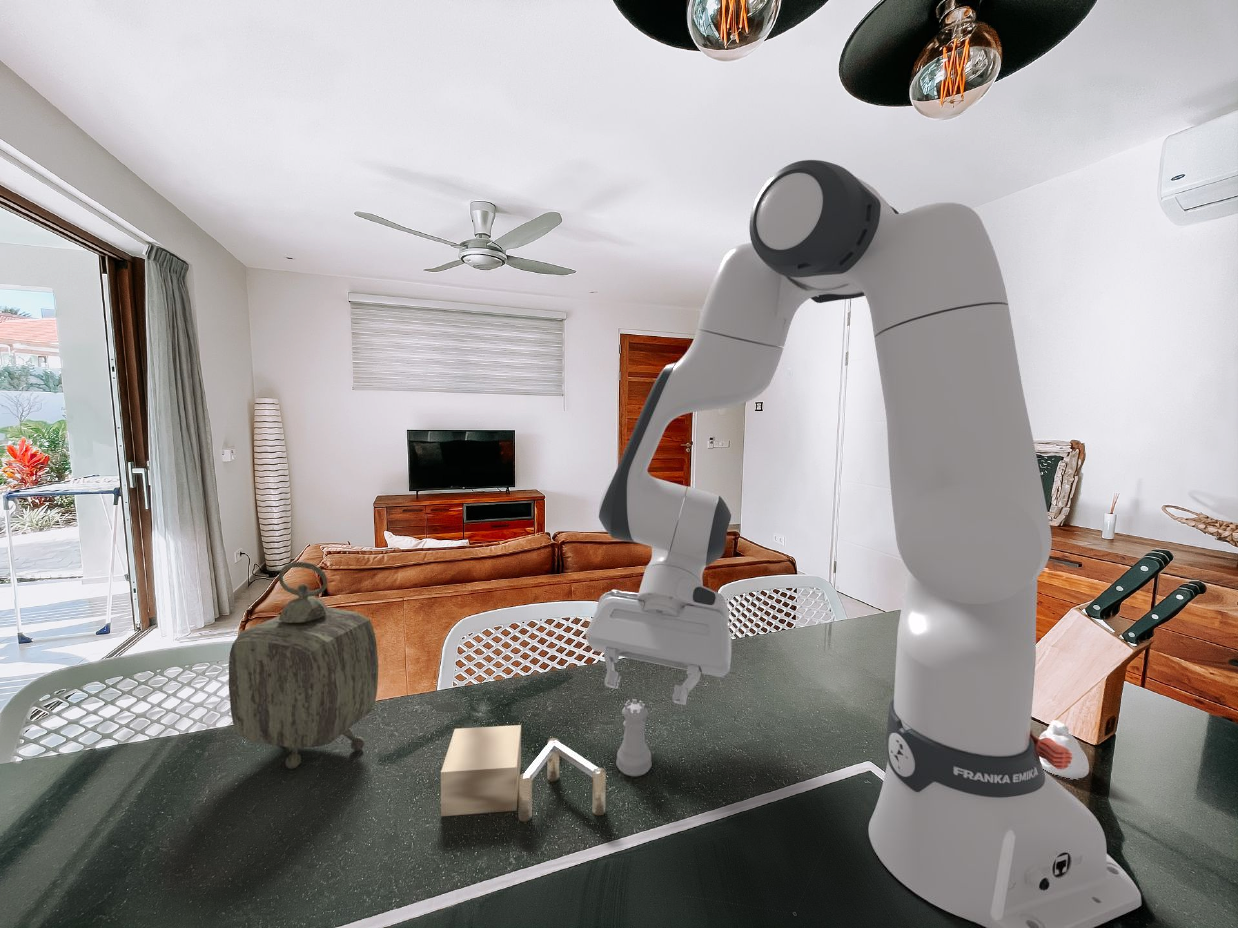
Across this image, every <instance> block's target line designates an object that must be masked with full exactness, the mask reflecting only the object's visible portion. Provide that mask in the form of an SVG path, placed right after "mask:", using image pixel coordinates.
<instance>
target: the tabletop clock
mask: <svg viewBox="0 0 1238 928" xmlns="http://www.w3.org/2000/svg"><path fill="white" fill-rule="evenodd" d="M293 568H303V569H308V570H312V571H313V572H315V573H317V574H318V575H319V577H321V579H322V583H323V584H322V586H321V587H320V588H318V589H315V590H309V585H308V584H306V583H301V584H299V585H298V587H297V588H293V587H291V586H289V585H288V584H286V582H285V581H284V575H285V573H286V572H287V571H288V570H290V569H293ZM278 582H279V584H280V586H281V587H282V588H283V590H284V591H286V592H288V593H290V594H292V595H294V596H298V597H296V598H294V599H291V600H290V601H288V602H287V603H286V604H285V606H284V607H283V609H282V611H281V612H280V614H279V615H278V616H275V617H273V618H270V619H268V620H266V621H263V622H260V623H259V624H255V625H254V626H251V627H249V628H247V629H244V630H241V632H240V633H239V634H238V636H237V637H236V638H235V640H234V642H233V643H232V645H231V648H230V651H229V656H228V657H229V658H228V659H229V660H228V692H229V693H228V694H229V707H230V713H231V720H232V725H233V728H234V730H235V732H236V733H237V735H239V736H241V737H242V738H245V739H246V740H250V741H253V742H257V743H263V744H265V745H270V746H274V747H275V746H276V747H283V748H292V750H291V754H289V755H288V756H287V758H286V759H285V761H284V762H285V764H284V765H285V766H286V768H287V769H289V770H290V769H291V770H292V769H296V768H297V767H298V766H299V765H300V764H301V761H302V757H301V755H300V754H299V753H298V751H299V749H307V748H315V747H322V746H326V745H329V744H331V743H332V742H334V741H335V740H336V739H338V738H339V737H341V735H343V736H344V737H346V738H347V739H348V740H350V748H351V750H353V751H355V752H357V751H360V750H362V749H363V748H364V746H365V741H366V740H365V738H363V737H362V736H356V737H355V735H354V734H353V732H352V731H351V730H350V728H351V727H353V726H354V725H355V724H357V723H358V722H359V721H361V720H362V719H363V718H364V717H366V716H367V715H368V714H370V713H371V712H372V711H373V708H374V707H375V703H376V699H377V695H378V685H379V658H378V657H379V656H378V647H377V639H376V634H375V629H374V627H373V623H372V622H371V619H369V617H367V616H365V615H363V614H361V613H358V612H355V611H351V610H347V609H341V608H336V607H331V606H326V603H325V602H324V601H323V600H322V599H320V598H318V597H315V596H317V595H320V594H322V593H323V592H324V591H325V590H326V588H327V585H328V578H327V576H326V573H325V572H324V571H323V569H322V568H321V567H320V566H317V565H316V564H314V563H311V562H306V561H294V562H293V561H292V562H290V563H289V562H288V563H287V564H285V565H284V566H283V567H282V568H281V569H280V571H279V574H278Z"/></svg>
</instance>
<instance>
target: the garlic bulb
mask: <svg viewBox="0 0 1238 928" xmlns="http://www.w3.org/2000/svg"><path fill="white" fill-rule="evenodd" d="M1038 738H1039V739H1042V738H1050V739H1052V740H1053V741H1054V742H1055V743H1056V744H1058V745H1061V746H1063V747H1065V748H1066V749H1068V750H1069V752H1070V753H1071V754H1072V756H1071V757H1072V760H1070V761H1071V764H1068V767H1067V768H1065V769H1057V768H1055V767H1054V766H1053V765H1051V764H1050V763H1049V762H1048V761H1047V760H1046V759H1044V758H1041V757H1040V756H1039V758H1040V761H1041V764H1042V767H1043V769H1044V771H1045V770H1046V771H1045V772H1047V771H1048V772H1050V773H1052V774H1051V775H1053V774H1055V775H1059V776H1062V777H1066V778H1070V779H1069V780H1073V779H1076V780H1079V779H1078V778H1082V779H1083V778H1085V777H1086V776H1087V775H1088V774H1089V772H1090V765H1089V760H1088V757H1087V755H1086V753H1085V752H1084V750H1083V749H1082V748H1081V745H1080V743H1079V741H1078V740H1077V739H1076V738H1075V737H1074V736H1073V734H1070V733H1069V727H1068V726H1067V725H1066V724H1064V722H1062V721H1060V720H1057V719H1056V720H1055V719H1054V720H1052V721H1051V722H1050V724H1049V725H1048V727H1047V730H1044V731H1043V732H1041V734H1040V735H1039V737H1038ZM1048 772H1047V773H1048ZM1050 773H1049V774H1050ZM1055 775H1054V776H1055ZM1059 776H1058V777H1059ZM1062 777H1061V778H1062ZM1066 778H1065V779H1066Z"/></svg>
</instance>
